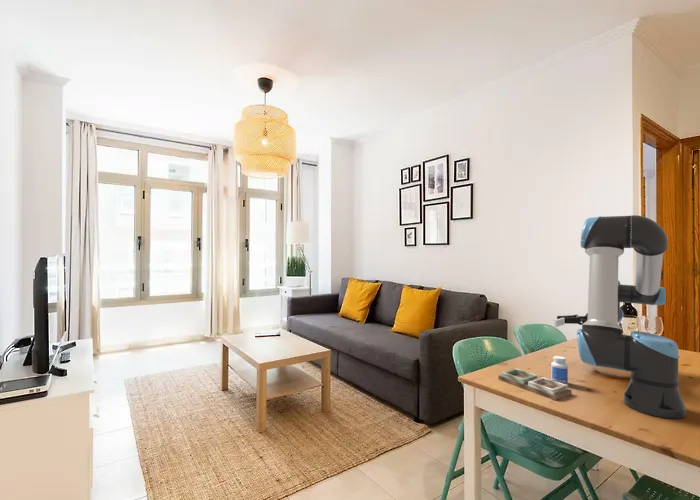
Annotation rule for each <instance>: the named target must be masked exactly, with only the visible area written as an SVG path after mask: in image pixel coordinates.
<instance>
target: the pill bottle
mask: <svg viewBox="0 0 700 500" xmlns="http://www.w3.org/2000/svg"><path fill="white" fill-rule="evenodd" d="M566 360H567V359H566V357H565V356H561V355H554V356H553V362H551V365H550V366H551V367H550V369H551V373H550V375H551V376H550V377H551V379H550V380H553V381H556V382H560V383H563V384H566V385H568V382H569V380H568V379H569V378H568V375H569V370H568V368H569V367H568V366H569V365H568V364H567V363H566Z"/></svg>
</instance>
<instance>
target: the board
mask: <svg viewBox="0 0 700 500" xmlns="http://www.w3.org/2000/svg"><path fill="white" fill-rule="evenodd" d="M538 377H539V375H538V374H534V373H531V372H528V371H526V370H522V369H519V368H512V369H509V370H506V371H502V372H501V374H499V375H498V377H497V378H498V381H501V382H503V383H507V384H510V385H513V386H515V387H517V388H521V389H523V390H526V391H529V392H531V393H534V394H537V395H540V396H543V397H545V398H547V399H550V400H552V401H558V400H560V399H563V398H565V397H568V396H570V395H572V389H569V388H568V387H569V386H568V384H567V385H566V384H563V383H560V382H556V381H553V380H551V379H550V378H546V377H544V376H542V377H541V376H540V377H539V378H538Z"/></svg>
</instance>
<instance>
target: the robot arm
mask: <svg viewBox="0 0 700 500" xmlns="http://www.w3.org/2000/svg"><path fill="white" fill-rule="evenodd" d="M668 245H669V238H668V235H667V233H666V231H665V230H664V229H663V227H662V226H661V225H660V224H658V223H657V222H656V221H654V220H653V219H651V218H649V217H646V216H643V215H639V214H638V215H637V214H635V215H634V214H633V215H616V216H615V215H613V216H601V215H600V216H597V217H596V216H595V217H589V218H586V219H585V221H584V222H583V224H582V228H581V234H580V247H581V248H582V249H584V253H585V254H587V255H588V257H589V266H588V267H589V268H588V269H589V271H588V272H589V273H588V295H587V296H588V297H587V298H588V299H587V313H586V314H585V315H579V314H570V315H569V314H568V315H557V316H556V319H554V322H553V323H554V324H553V325H554V327H555V328H558V327H561V326H563V325H565V324H573V325H579V326H581V328H579V329H577V330H576V343H577V350H578V356H579V359H580V360H581V362H582V363H584V364H587V365H591V366H595V367H601V368H607V369H614V370H619V371H626V372H630V379H629V382H628V385H627V387H626V389H625V391H624V393H623V394H624V395H623V403H624V404H625V405H626V406H627V407H629V408H631V409H633V410H635V411H638V412H640V413H643V414H646V415H649V416H653V417H659V418H662V419H663V418H665V419H674V420H675V419H676V420H677V419H682V418H683V419H684V418H685V417H686V416H687V408H686V405H685V402H684V399H683V397H682V394H681V393H680V390H679V359H680V355H679V354H680V353H679V346H678V343H677V342H676V341H674V340H672V339H671V338H668V337H666V336H663V335H658V334H655V333H650V332H644V331H638V330H634V331H631V333H630V335H626V334H623V333H624V330H623V328H622V327H621V326H620V325H619V322H620V321H622V320H623V318H624V311H623V310H622V308H621V303H623V304H624V303H627V304H639V305H650V306H663V305H665V303H666V298H667V297H666V288H665V287H663V286H661V278H662V269H663V268H662V267H663V257H664V253H665V252H666V251H667V250H668ZM625 249H633V251H635V253H636V254H635V255H636V256H635V285H632V284H621V281H620V280H619V257H620V256H622V255H623V254H624V253H625Z"/></svg>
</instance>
